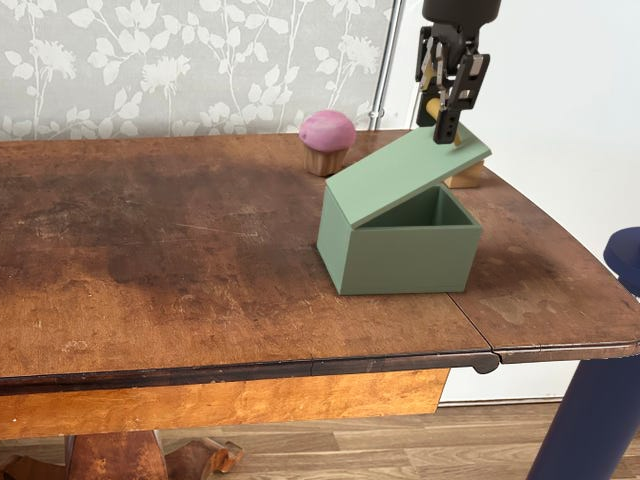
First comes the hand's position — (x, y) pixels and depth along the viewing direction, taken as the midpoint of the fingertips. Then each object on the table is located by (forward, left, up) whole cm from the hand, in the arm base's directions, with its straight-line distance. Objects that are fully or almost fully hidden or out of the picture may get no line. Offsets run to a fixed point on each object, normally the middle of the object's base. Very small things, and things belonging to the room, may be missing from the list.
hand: (433, 133), depth 81 cm
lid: (+2, +2, -4) cm, 5 cm away
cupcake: (+21, -24, -18) cm, 36 cm away
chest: (+2, +1, -18) cm, 18 cm away
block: (+1, -32, -18) cm, 36 cm away
